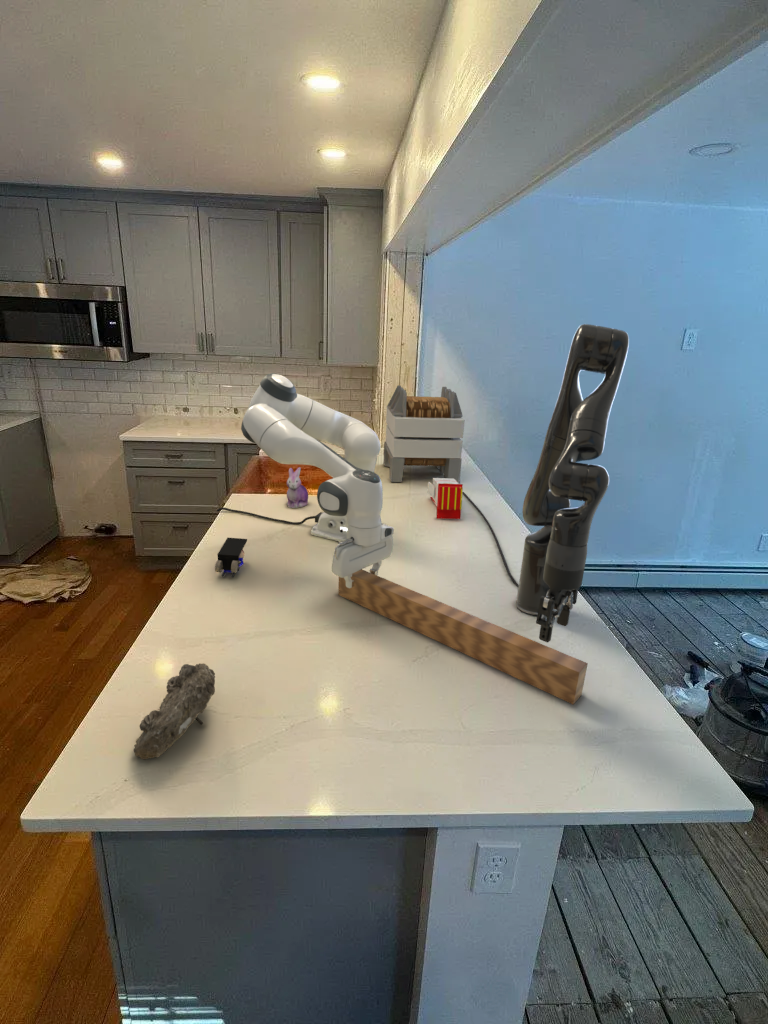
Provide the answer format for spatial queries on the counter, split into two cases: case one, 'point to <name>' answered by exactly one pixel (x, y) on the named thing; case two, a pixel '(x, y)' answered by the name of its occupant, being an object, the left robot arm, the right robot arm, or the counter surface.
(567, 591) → the right robot arm
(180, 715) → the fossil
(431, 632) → the post
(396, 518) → the counter surface
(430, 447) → the transformer
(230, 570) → the figurine character
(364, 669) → the counter surface
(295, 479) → the figurine
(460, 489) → the toy
